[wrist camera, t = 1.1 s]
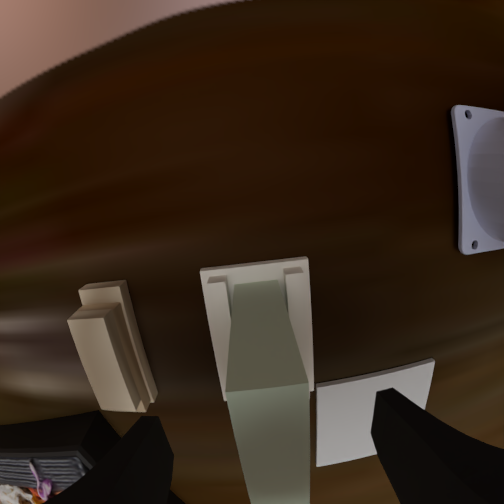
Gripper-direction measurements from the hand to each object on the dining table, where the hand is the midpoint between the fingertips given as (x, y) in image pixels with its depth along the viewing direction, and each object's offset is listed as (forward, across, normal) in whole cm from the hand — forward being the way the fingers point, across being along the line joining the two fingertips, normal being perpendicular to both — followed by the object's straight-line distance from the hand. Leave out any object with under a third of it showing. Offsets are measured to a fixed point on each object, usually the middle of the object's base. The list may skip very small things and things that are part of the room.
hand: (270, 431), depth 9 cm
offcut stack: (+7, +8, 0) cm, 10 cm away
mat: (+7, -7, +7) cm, 12 cm away
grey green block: (+6, 0, 0) cm, 7 cm away
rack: (+7, 0, 0) cm, 7 cm away
